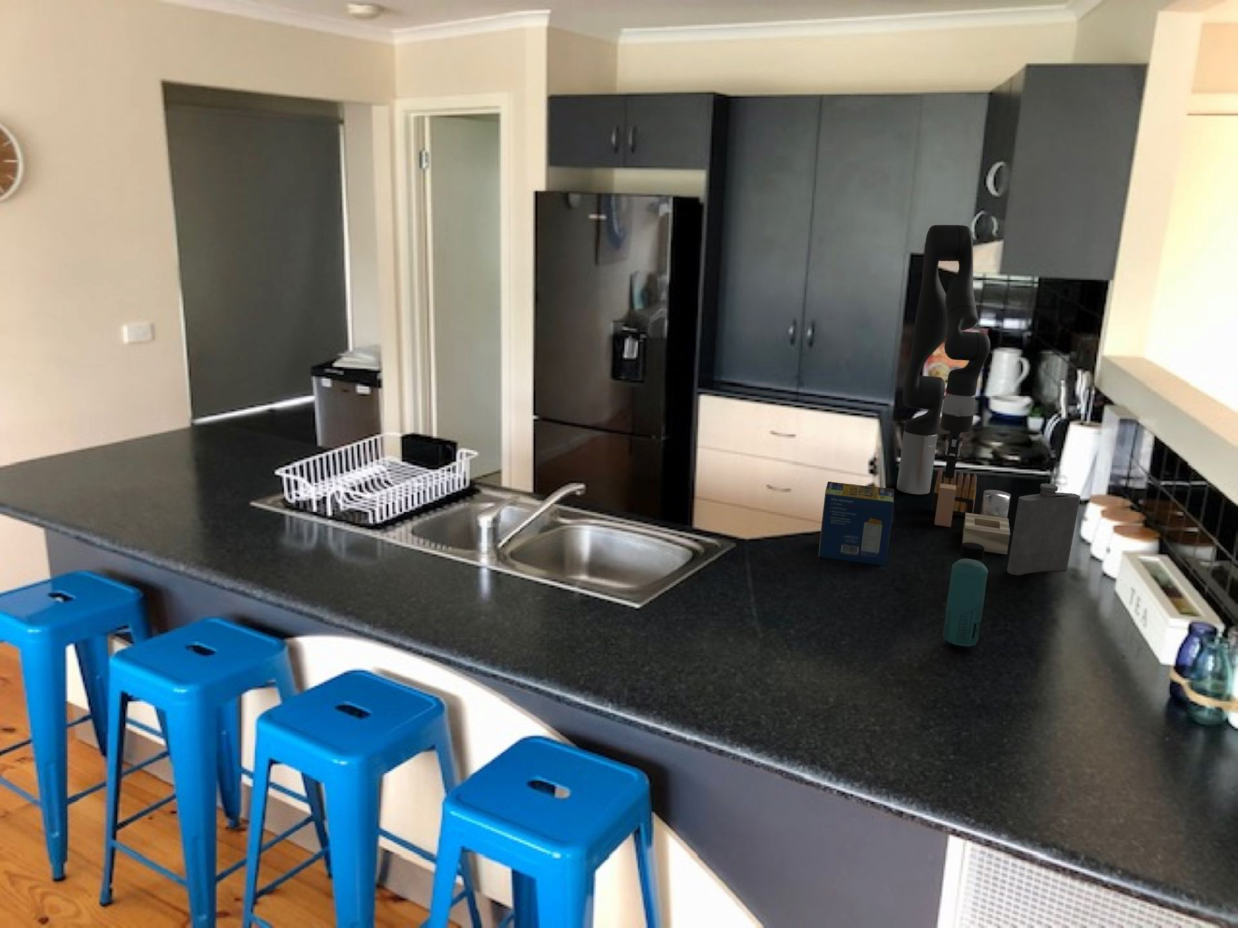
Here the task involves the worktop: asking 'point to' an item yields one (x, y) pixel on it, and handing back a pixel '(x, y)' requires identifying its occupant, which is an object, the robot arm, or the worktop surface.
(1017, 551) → the hip flask
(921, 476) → the robot arm
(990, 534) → the socket block
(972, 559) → the beverage bottle
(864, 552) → the protein box
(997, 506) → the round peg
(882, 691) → the worktop surface
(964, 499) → the ammunition clip
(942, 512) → the square peg
